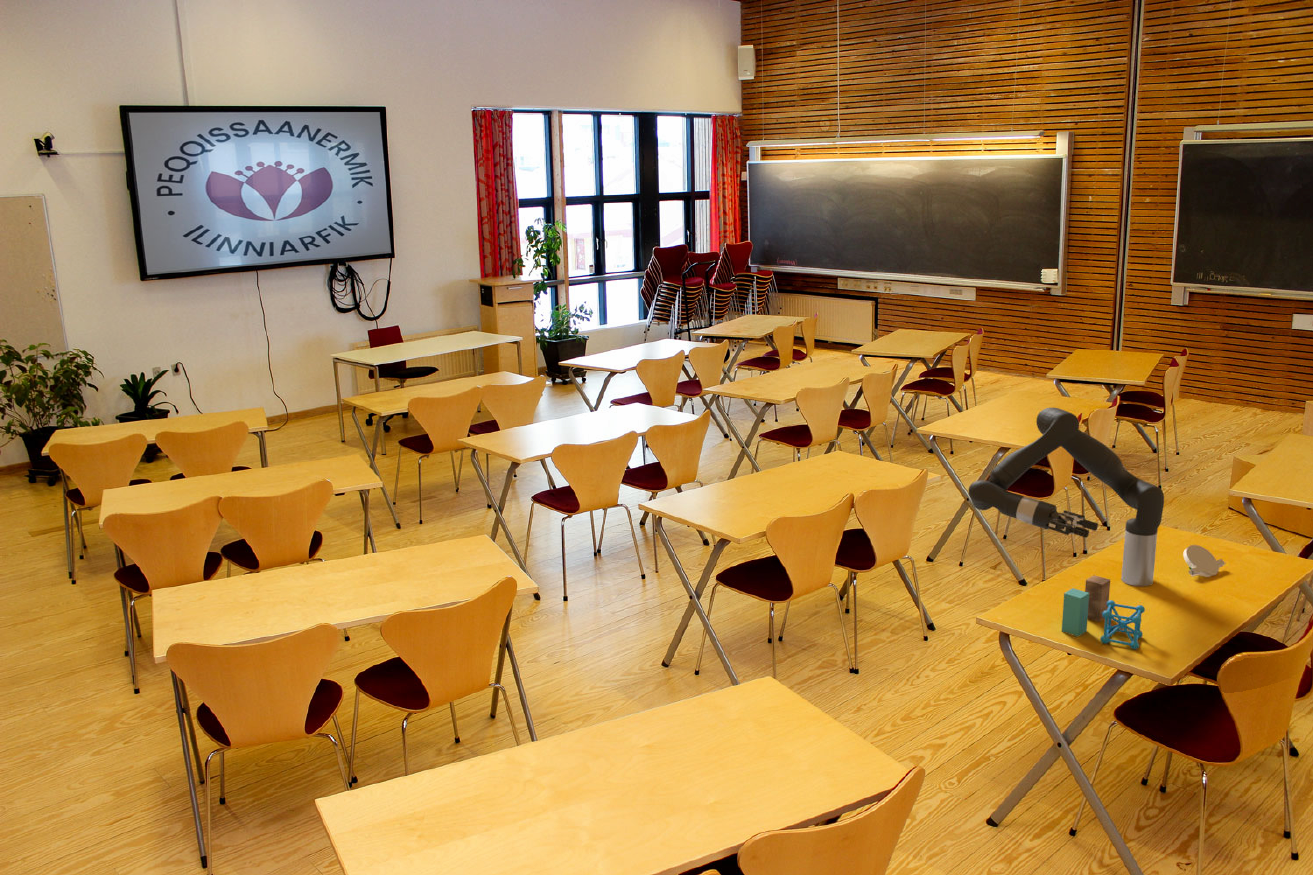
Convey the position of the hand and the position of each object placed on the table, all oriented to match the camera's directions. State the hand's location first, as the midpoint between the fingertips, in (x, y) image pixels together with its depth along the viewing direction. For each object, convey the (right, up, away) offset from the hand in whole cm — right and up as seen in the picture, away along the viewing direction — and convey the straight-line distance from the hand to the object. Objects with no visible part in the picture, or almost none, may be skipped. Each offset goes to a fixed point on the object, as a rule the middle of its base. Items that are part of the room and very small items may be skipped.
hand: (1092, 530), depth 283 cm
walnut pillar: (+8, -27, +17) cm, 33 cm away
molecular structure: (+9, -32, +2) cm, 33 cm away
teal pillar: (-2, -30, +9) cm, 31 cm away
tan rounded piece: (+55, -18, +45) cm, 73 cm away
